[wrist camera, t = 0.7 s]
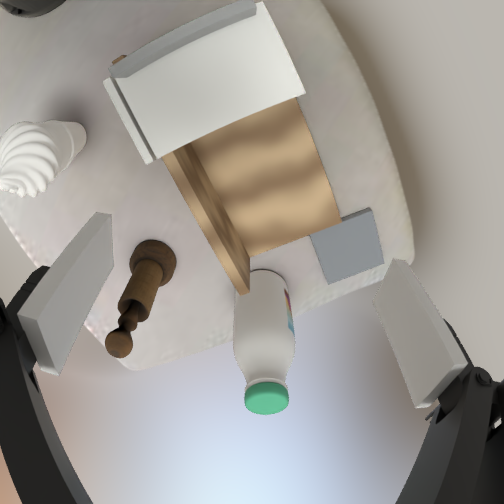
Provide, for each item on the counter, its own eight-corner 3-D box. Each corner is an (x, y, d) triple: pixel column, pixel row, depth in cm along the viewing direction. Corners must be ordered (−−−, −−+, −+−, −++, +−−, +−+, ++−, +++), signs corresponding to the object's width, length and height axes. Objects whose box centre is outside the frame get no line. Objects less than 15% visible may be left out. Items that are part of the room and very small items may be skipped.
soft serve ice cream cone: (48, 110, 32) (-34, 139, 19) (99, 103, 33) (21, 126, 19) (53, 168, 37) (-20, 217, 23) (102, 165, 37) (34, 217, 23)
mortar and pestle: (176, 281, 46) (147, 378, 31) (135, 275, 46) (93, 366, 30) (176, 242, 43) (141, 336, 27) (132, 237, 42) (80, 324, 27)
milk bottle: (226, 296, 48) (216, 411, 30) (252, 259, 44) (254, 376, 27) (269, 316, 50) (276, 427, 33) (297, 282, 46) (319, 396, 29)
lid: (132, 79, 29) (86, 83, 20) (259, 19, 26) (264, -9, 17) (167, 146, 33) (135, 174, 24) (293, 90, 30) (312, 94, 21)
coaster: (308, 230, 42) (309, 234, 41) (369, 207, 40) (372, 210, 39) (326, 280, 46) (328, 284, 45) (382, 259, 44) (384, 263, 44)
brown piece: (144, 64, 31) (111, 61, 22) (253, 13, 28) (254, -9, 20) (241, 252, 44) (240, 296, 36) (338, 215, 41) (359, 252, 33)
